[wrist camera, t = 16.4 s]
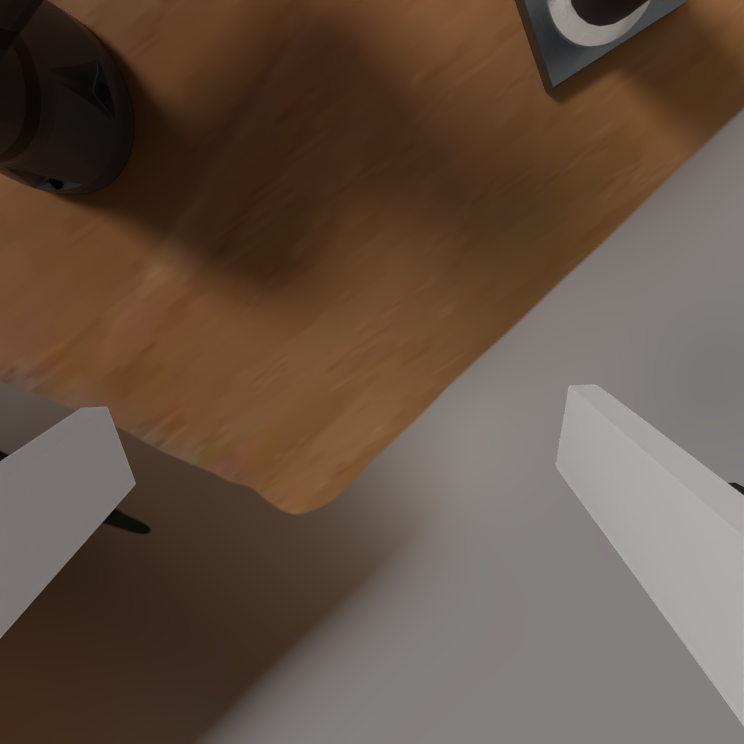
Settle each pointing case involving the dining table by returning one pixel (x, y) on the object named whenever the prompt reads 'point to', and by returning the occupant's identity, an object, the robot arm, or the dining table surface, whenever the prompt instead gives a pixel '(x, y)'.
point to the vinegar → (605, 10)
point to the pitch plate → (578, 34)
